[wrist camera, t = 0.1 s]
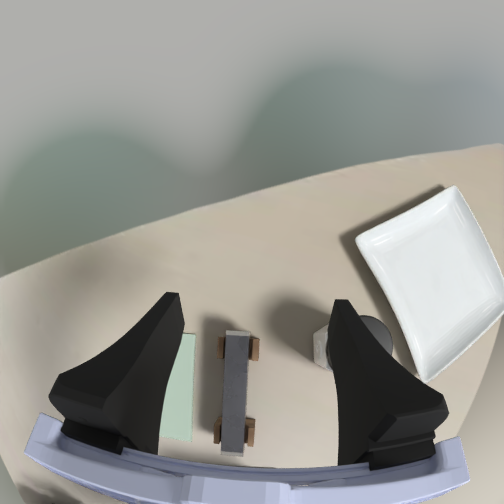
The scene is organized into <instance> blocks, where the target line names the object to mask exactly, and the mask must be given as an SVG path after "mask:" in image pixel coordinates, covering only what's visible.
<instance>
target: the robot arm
mask: <svg viewBox="0 0 504 504" xmlns="http://www.w3.org/2000/svg"><path fill="white" fill-rule="evenodd" d="M184 325H185V322H184V317H183V313H182V308H181V302H180V297H179V293H173V292H166V293H165V294H164V295H163V296H162V297H161V298H160V299H159V300H158V301H157V303H156V304H155V305H154V306H153V307H152V308H151V309H150V310H149V311H148V312H147V313H146V314H145V315H144V316H143V318H142V319H141V320H140V321H139V322H138V323H137V324H136V325H135V326H133V327H132V328H131V329H130V330H129V331H128V332H127V333H126V334H125V335H124V336H123V337H121V338H120V339H119V340H118V341H117V342H115V343H114V344H113V345H111V346H110V347H109V348H107V349H106V350H104V351H103V352H101V353H100V354H98V355H97V356H95V357H94V358H92V359H90V360H88V361H87V362H85V363H83V364H81V365H79V366H77V367H75V368H73V369H70V370H68V371H66V372H64V373H61V374H59V376H58V378H57V379H56V381H55V383H54V385H53V387H52V390H51V392H50V394H49V400H50V402H51V403H52V404H53V406H54V407H55V408H56V409H57V410H58V411H59V412H60V413H61V414H62V415H63V416H64V417H65V420H64V423H63V422H61V421H60V420H58V419H56V418H53V417H51V416H48V415H46V414H44V413H40V415H39V417H38V419H37V421H36V424H35V426H34V428H33V431H32V433H31V436H30V438H29V440H28V443H27V445H26V448H25V451H24V453H25V454H26V455H27V456H28V457H30V458H31V459H33V460H34V461H36V462H37V463H39V464H40V465H42V466H44V467H45V468H47V469H48V470H50V471H52V472H54V473H56V474H58V475H60V476H62V477H64V478H66V479H68V480H70V481H73V482H75V483H77V484H79V485H82V486H84V487H86V488H89V489H91V490H94V491H96V492H99V493H101V494H104V495H106V496H109V497H112V498H115V499H117V500H120V501H123V502H126V503H129V504H417V503H421V502H424V501H427V500H430V499H432V498H436V497H438V496H441V495H443V494H445V493H447V492H450V491H452V490H454V489H456V488H458V487H460V486H461V485H464V484H465V483H467V482H469V481H470V477H469V472H468V468H467V464H466V459H465V455H464V451H463V447H462V444H461V440H460V437H459V436H457V437H454V438H451V439H448V440H444V441H441V442H438V443H436V444H435V445H434V443H433V439H434V438H435V432H434V430H435V429H436V428H437V427H438V426H439V425H441V424H442V423H443V422H444V421H445V419H446V418H447V417H448V414H449V411H448V408H447V404H446V401H445V399H444V396H443V394H441V393H439V392H437V391H436V390H434V389H432V388H431V387H429V386H427V385H426V384H425V383H423V382H422V381H420V380H419V379H418V378H416V377H415V376H414V375H412V374H411V373H410V372H409V371H407V370H406V369H405V368H404V367H403V366H402V365H400V364H399V363H398V362H397V361H396V360H395V359H394V358H393V357H392V356H391V355H390V354H389V353H388V352H387V351H386V350H385V349H384V347H383V346H382V345H381V344H380V343H379V342H378V340H377V339H376V338H375V337H374V335H373V334H372V333H371V331H370V330H369V329H368V328H367V326H366V325H365V323H364V322H363V321H362V319H361V318H360V316H359V315H358V314H357V312H356V311H355V309H354V308H353V306H352V305H351V303H350V302H349V301H348V300H343V299H335V302H334V306H333V310H332V314H331V318H330V322H329V326H328V329H327V332H328V345H329V353H330V358H331V363H332V368H333V373H334V379H335V384H336V390H337V399H338V421H339V447H338V466H331V467H316V468H249V467H234V466H223V465H214V464H206V463H198V462H191V461H185V460H179V459H174V458H168V457H163V456H158V443H159V433H160V424H161V417H162V411H163V404H164V399H165V394H166V389H167V385H168V381H169V378H170V374H171V371H172V368H173V365H174V362H175V359H176V356H177V353H178V350H179V347H180V344H181V340H182V335H183V330H184ZM176 476H178V477H176ZM297 485H308V486H297Z"/></svg>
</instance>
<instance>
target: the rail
mask: <svg viewBox="0 0 504 504" xmlns="http://www.w3.org/2000/svg"><path fill="white" fill-rule="evenodd" d="M249 346H250V332H248V331H230V330H226V346H225V365H224V386H223V409H222V435H221V455H229V456H242V457H243V454H244V443H245V424H246V405H247V386H248V366H249Z"/></svg>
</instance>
